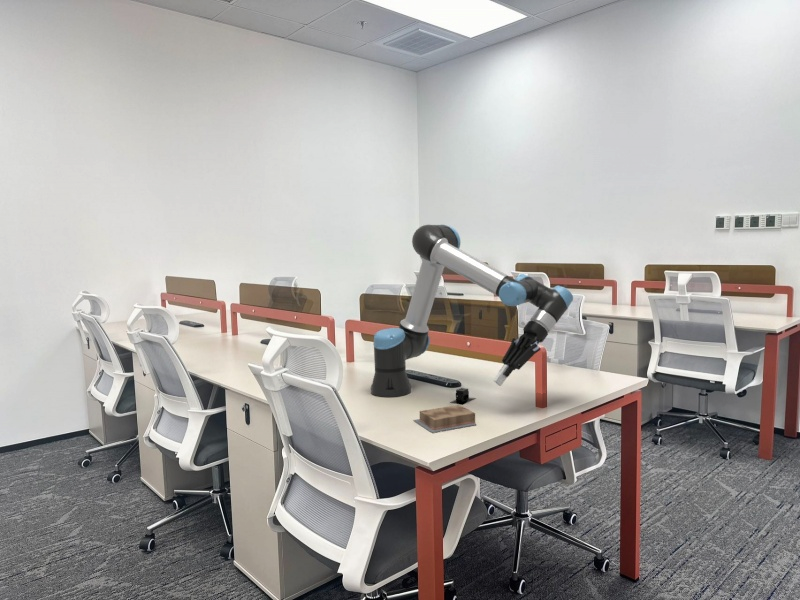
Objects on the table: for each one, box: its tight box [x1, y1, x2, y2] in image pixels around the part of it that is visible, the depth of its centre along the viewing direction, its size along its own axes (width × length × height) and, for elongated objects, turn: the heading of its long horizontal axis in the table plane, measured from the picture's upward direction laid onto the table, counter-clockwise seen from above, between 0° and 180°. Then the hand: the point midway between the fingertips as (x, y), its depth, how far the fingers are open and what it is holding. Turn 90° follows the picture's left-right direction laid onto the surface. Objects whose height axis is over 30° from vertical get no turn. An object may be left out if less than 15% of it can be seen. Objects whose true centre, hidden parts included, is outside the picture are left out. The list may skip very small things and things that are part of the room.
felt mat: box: [412, 418, 477, 434], centre depth 171 cm, size 13×15×1 cm
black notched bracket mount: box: [449, 387, 477, 406], centre depth 195 cm, size 12×7×5 cm, turn 143°
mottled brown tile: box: [419, 404, 476, 430], centre depth 172 cm, size 10×3×14 cm
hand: (496, 382), depth 178 cm, fingers closed
